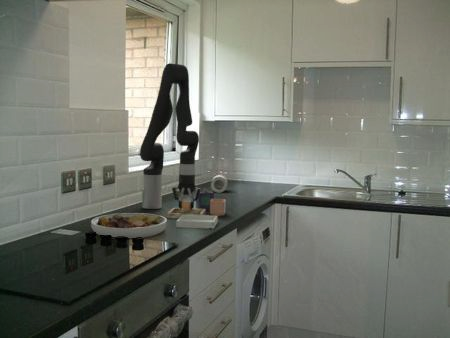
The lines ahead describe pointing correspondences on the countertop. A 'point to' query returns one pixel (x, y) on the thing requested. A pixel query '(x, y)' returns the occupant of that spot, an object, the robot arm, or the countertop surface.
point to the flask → (204, 200)
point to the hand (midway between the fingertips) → (186, 208)
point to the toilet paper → (219, 189)
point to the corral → (177, 211)
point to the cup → (217, 207)
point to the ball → (186, 205)
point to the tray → (197, 221)
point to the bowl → (129, 225)
